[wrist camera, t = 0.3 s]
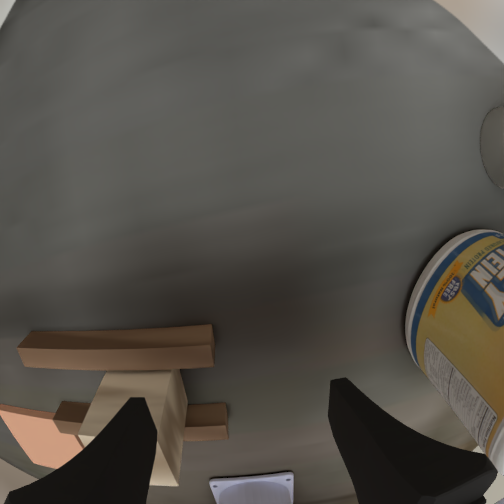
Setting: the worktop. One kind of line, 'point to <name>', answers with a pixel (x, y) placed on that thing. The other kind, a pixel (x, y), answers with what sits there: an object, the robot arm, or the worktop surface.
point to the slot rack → (129, 366)
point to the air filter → (493, 145)
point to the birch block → (160, 406)
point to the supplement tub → (464, 333)
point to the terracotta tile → (40, 436)
